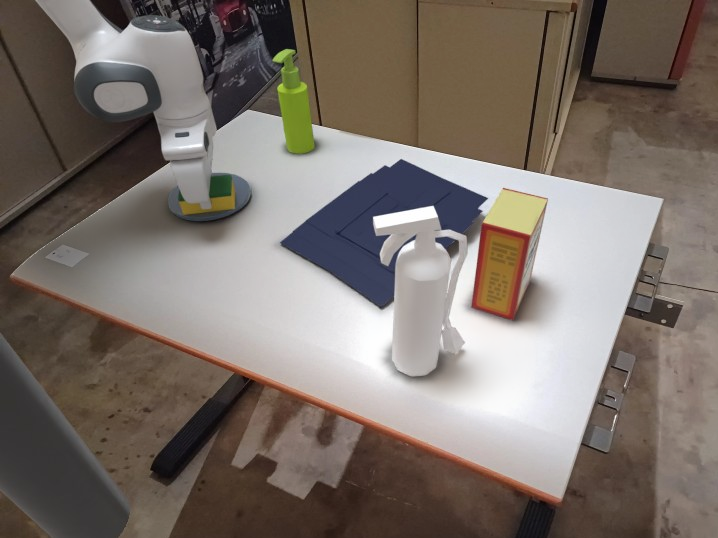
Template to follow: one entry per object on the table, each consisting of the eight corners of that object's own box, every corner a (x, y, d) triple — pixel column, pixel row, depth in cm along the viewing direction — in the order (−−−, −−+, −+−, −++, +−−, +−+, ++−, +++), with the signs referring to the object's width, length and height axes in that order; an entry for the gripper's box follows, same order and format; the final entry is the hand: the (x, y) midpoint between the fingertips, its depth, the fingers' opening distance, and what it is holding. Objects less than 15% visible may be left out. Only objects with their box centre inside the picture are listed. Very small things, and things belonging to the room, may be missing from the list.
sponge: (183, 215, 98) (177, 198, 96) (185, 196, 103) (180, 179, 100) (234, 209, 100) (230, 192, 97) (235, 190, 104) (231, 174, 101)
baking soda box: (490, 269, 90) (503, 185, 78) (530, 281, 88) (548, 196, 77) (471, 307, 84) (481, 221, 72) (512, 320, 82) (530, 234, 70)
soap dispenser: (279, 153, 116) (262, 56, 102) (295, 138, 121) (281, 43, 107) (303, 158, 115) (289, 60, 101) (319, 143, 119) (308, 47, 105)
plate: (166, 228, 98) (164, 222, 97) (173, 183, 108) (170, 177, 107) (252, 218, 100) (250, 211, 99) (250, 174, 111) (249, 168, 110)
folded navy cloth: (496, 214, 98) (497, 198, 96) (384, 319, 85) (382, 304, 82) (395, 167, 110) (393, 151, 107) (282, 253, 96) (277, 238, 94)
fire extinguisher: (471, 372, 75) (492, 223, 57) (383, 384, 73) (377, 235, 56) (459, 335, 80) (475, 187, 62) (376, 345, 78) (369, 197, 61)
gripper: (173, 98, 97) (194, 167, 107) (160, 157, 83) (185, 230, 93) (209, 95, 98) (227, 164, 108) (203, 152, 84) (224, 226, 93)
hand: (208, 195), depth 100 cm, fingers closed on sponge, 6 cm apart
